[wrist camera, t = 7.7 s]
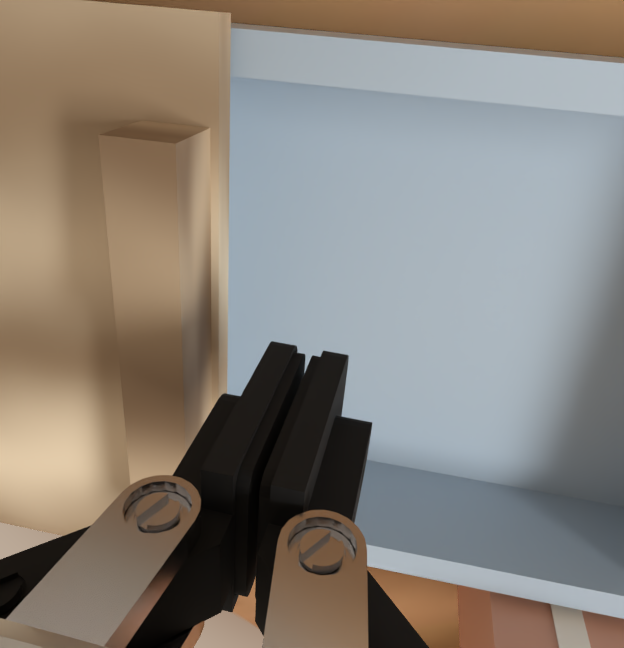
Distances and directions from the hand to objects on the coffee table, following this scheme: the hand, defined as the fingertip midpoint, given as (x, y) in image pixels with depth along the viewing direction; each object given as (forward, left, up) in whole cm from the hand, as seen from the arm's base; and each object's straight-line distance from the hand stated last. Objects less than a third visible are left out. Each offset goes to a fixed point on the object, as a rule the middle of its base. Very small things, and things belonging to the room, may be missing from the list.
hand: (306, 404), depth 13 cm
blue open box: (+1, +3, -9) cm, 9 cm away
